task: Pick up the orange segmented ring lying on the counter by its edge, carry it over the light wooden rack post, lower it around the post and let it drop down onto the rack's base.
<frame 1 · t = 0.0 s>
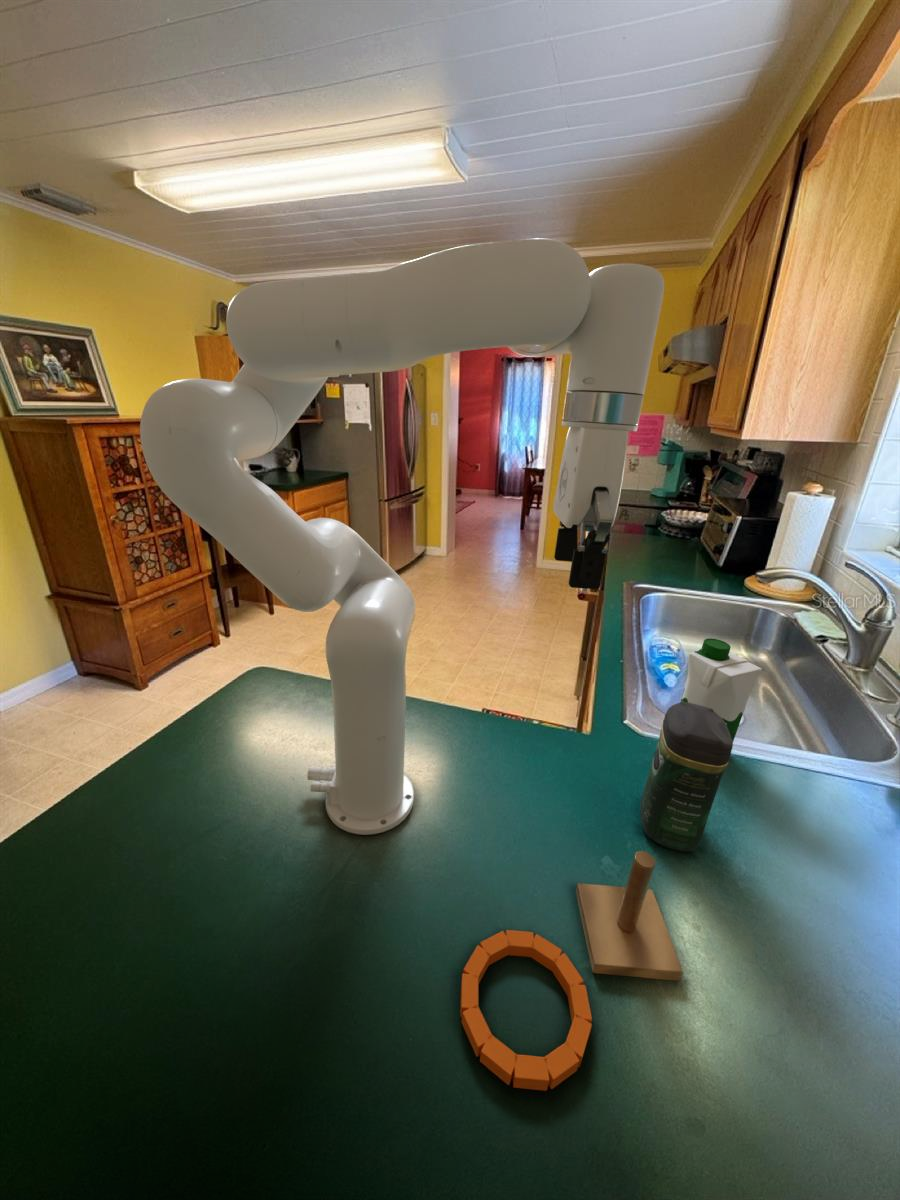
hand: (574, 572, 54), 37 cm above the kitchen counter, tool pointing down, fingers open, 9 cm apart
coffee jar: (667, 826, 67), on the kitchen counter
milk carton: (697, 749, 84), on the kitchen counter
orange segmented ring: (523, 1005, 46), on the kitchen counter
rack: (623, 932, 53), on the kitchen counter
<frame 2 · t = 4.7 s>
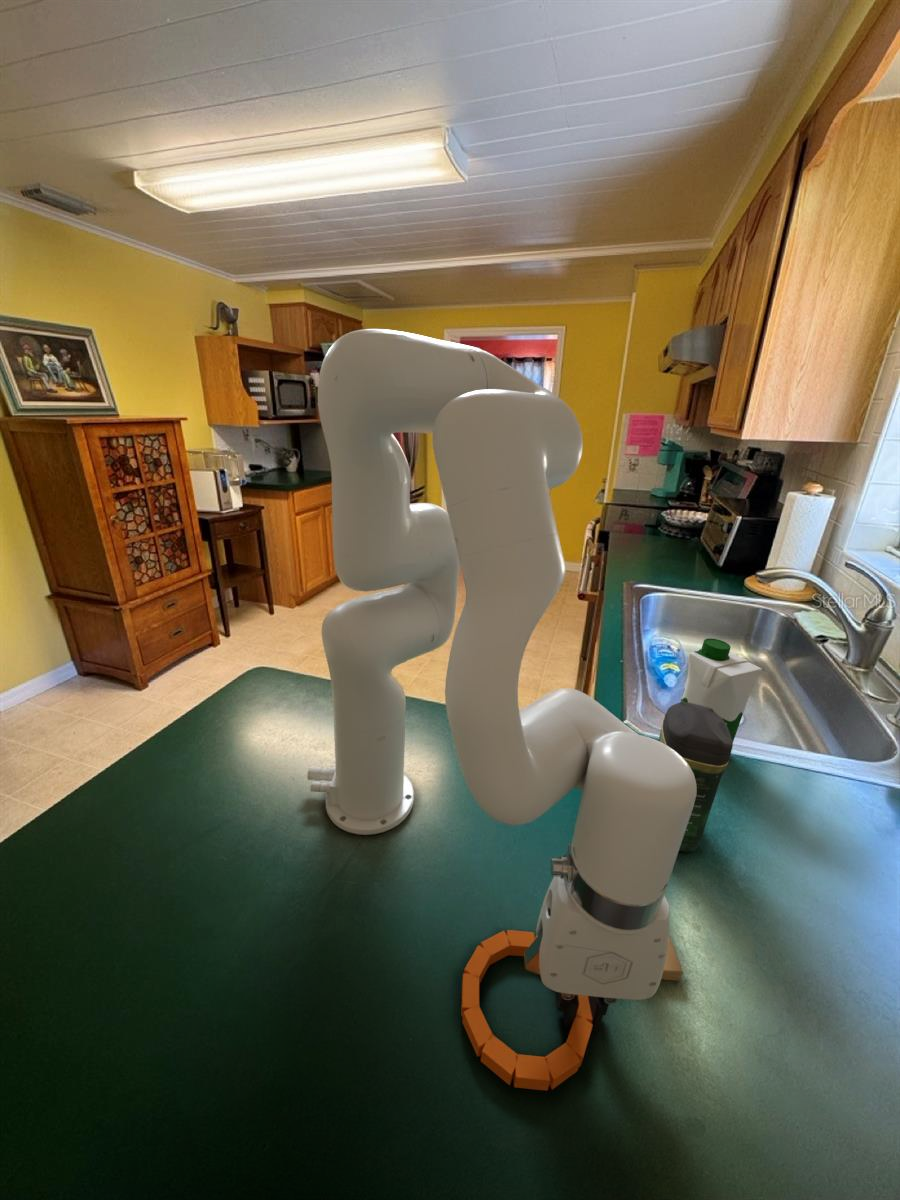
hand: (578, 1010, 46), 0 cm above the kitchen counter, tool pointing down, fingers closed on orange segmented ring, 1 cm apart
orange segmented ring: (524, 1005, 46), on the kitchen counter, touching gripper
everything else where it was.
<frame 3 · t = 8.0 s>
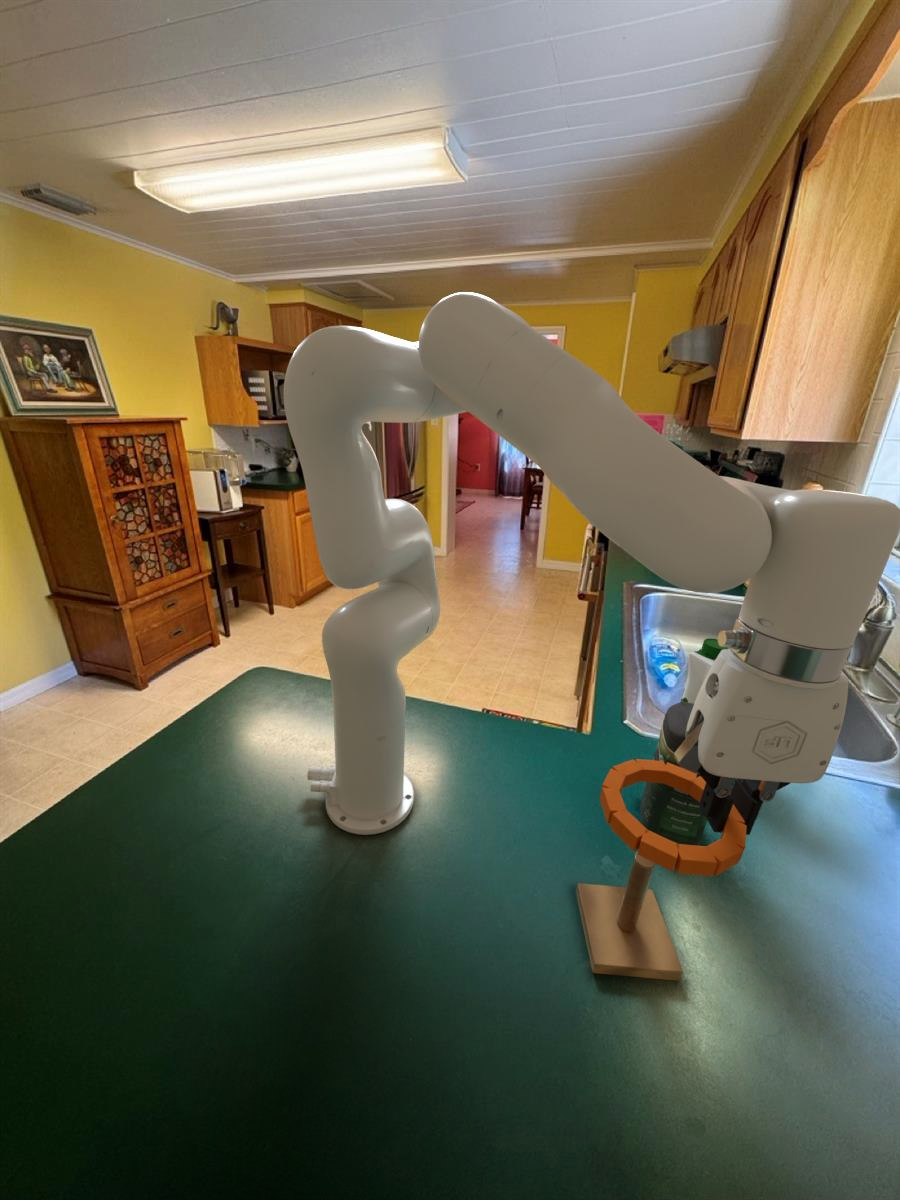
hand: (723, 820, 45), 19 cm above the kitchen counter, tool pointing down, fingers closed on orange segmented ring
orange segmented ring: (667, 816, 45), point 19 cm above the kitchen counter, touching gripper
everything else where it was.
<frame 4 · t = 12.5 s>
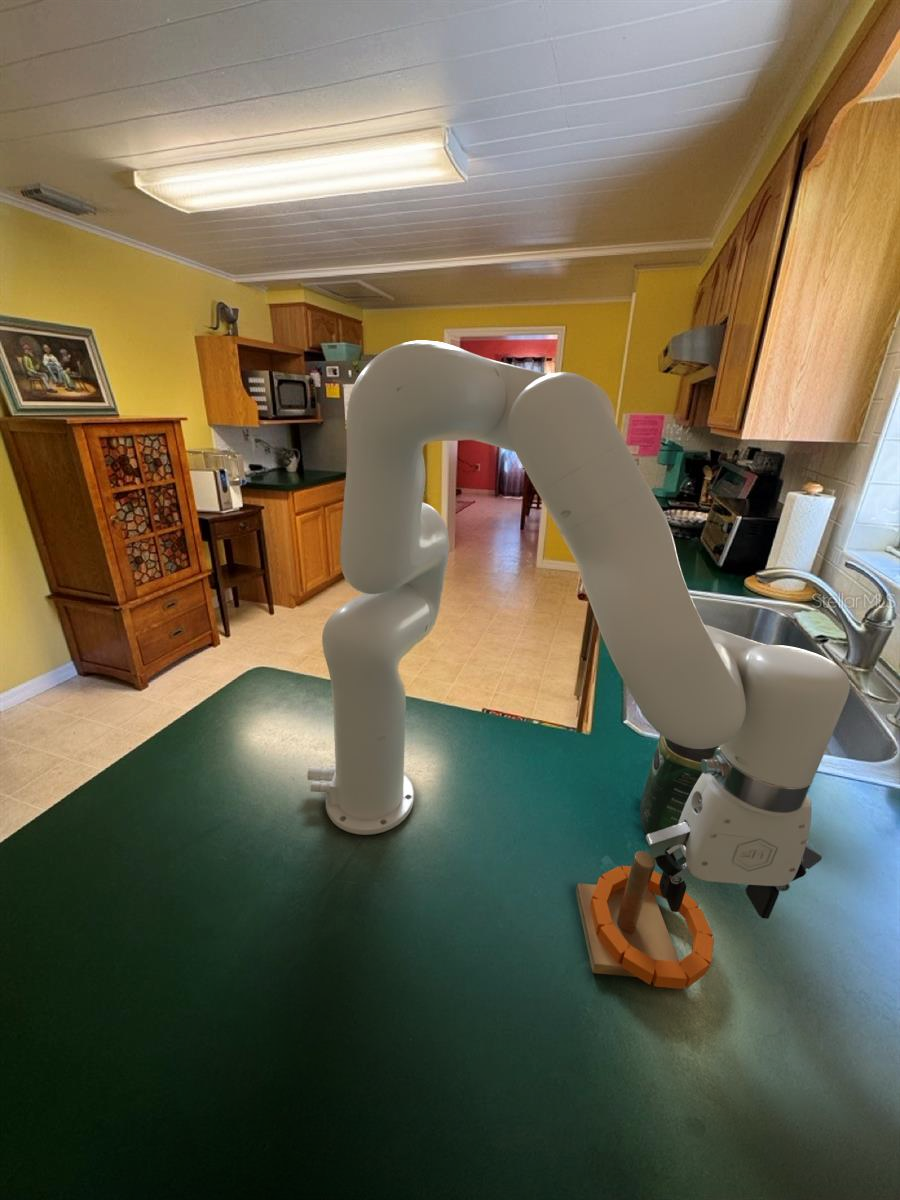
hand: (712, 901, 50), 6 cm above the kitchen counter, tool pointing down, fingers open, 8 cm apart
orange segmented ring: (648, 925, 52), point 1 cm above the kitchen counter, touching rack
everything else where it was.
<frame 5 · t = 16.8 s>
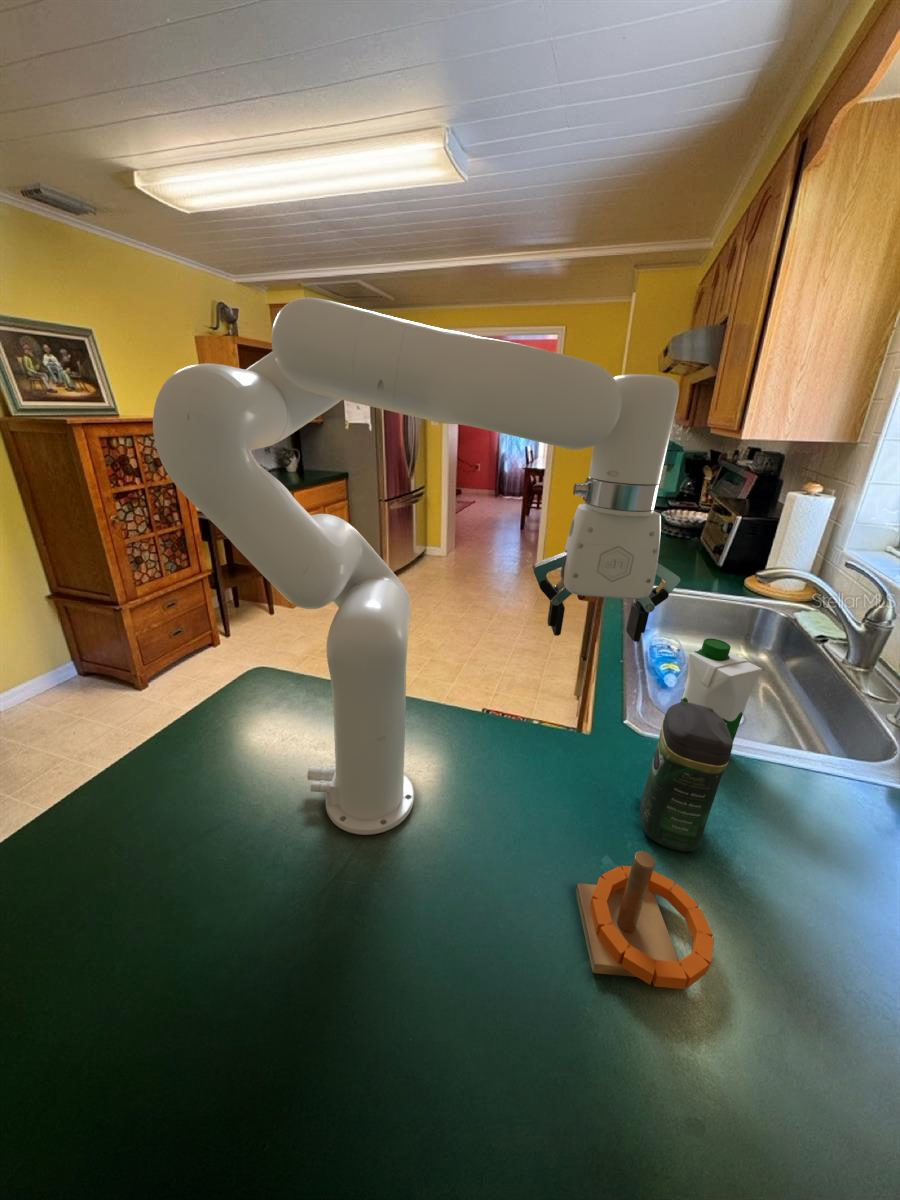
hand: (593, 634, 59), 28 cm above the kitchen counter, tool pointing down, fingers open, 9 cm apart
nothing on the kitchen counter moved.
at the end: orange segmented ring 2.4 cm from the rack (horizontally); orange segmented ring point 1.5 cm above the kitchen counter; the gripper is holding nothing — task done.
